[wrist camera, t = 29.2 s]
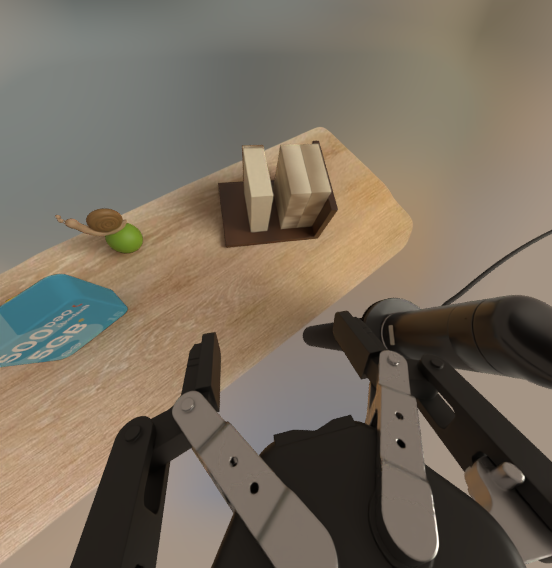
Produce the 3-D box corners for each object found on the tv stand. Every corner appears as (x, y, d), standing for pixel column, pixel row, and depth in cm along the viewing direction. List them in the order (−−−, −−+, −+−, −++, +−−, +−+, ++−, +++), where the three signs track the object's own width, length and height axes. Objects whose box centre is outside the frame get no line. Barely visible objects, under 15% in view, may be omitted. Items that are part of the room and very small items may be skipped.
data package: (66, 359, 33) (-33, 372, 21) (50, 339, 33) (-57, 341, 22) (132, 308, 36) (76, 295, 24) (116, 290, 36) (54, 269, 25)
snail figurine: (107, 243, 38) (45, 203, 27) (139, 227, 40) (94, 182, 28) (121, 265, 37) (64, 234, 26) (153, 248, 39) (113, 211, 28)
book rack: (304, 181, 48) (321, 132, 36) (317, 238, 44) (342, 204, 33) (218, 186, 44) (208, 133, 33) (226, 247, 41) (217, 213, 30)
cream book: (259, 190, 44) (263, 144, 34) (267, 230, 42) (273, 195, 32) (243, 191, 44) (241, 145, 33) (250, 232, 42) (251, 197, 31)
